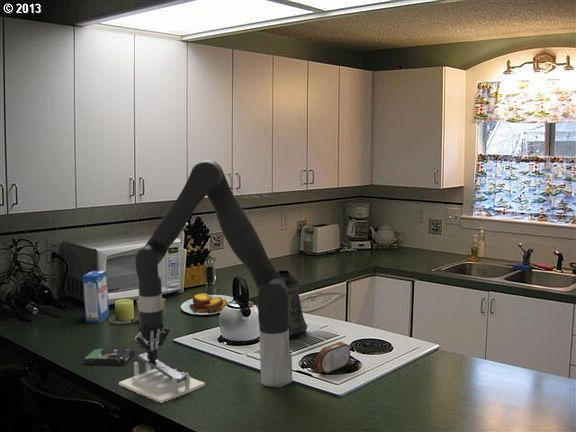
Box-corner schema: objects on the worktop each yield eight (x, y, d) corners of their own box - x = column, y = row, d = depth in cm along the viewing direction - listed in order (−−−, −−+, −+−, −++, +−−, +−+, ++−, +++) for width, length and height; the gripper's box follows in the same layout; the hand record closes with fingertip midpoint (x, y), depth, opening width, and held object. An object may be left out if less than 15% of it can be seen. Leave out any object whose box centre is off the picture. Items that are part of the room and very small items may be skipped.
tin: (345, 362, 222) (345, 338, 221) (352, 364, 220) (352, 340, 219) (315, 374, 212) (314, 349, 211) (322, 377, 210) (322, 352, 208)
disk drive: (134, 356, 235) (95, 355, 236) (134, 348, 234) (95, 347, 236) (124, 366, 224) (83, 365, 226) (124, 359, 224) (83, 357, 226)
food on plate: (249, 308, 290) (248, 294, 289) (204, 321, 273) (203, 306, 272) (214, 298, 308) (213, 284, 307) (170, 309, 291) (169, 295, 290)
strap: (185, 380, 199) (186, 377, 199) (178, 383, 197) (178, 380, 197) (145, 355, 212) (146, 352, 212) (138, 358, 210) (138, 354, 210)
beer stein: (298, 325, 263) (297, 265, 260) (315, 340, 245) (314, 275, 242) (259, 330, 258) (257, 269, 255) (273, 345, 240) (271, 279, 236)
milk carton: (95, 315, 285) (92, 270, 282) (109, 315, 284) (106, 270, 281) (85, 322, 275) (82, 275, 272) (99, 322, 274) (96, 276, 271)
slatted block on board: (204, 385, 205) (204, 368, 204) (161, 403, 192) (160, 385, 191) (162, 369, 219) (161, 353, 218) (118, 385, 207) (117, 367, 206)
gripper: (140, 315, 197) (142, 369, 200) (175, 305, 207) (176, 357, 209) (126, 310, 202) (128, 363, 205) (160, 301, 212) (162, 352, 214)
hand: (152, 360), depth 207 cm, fingers closed
